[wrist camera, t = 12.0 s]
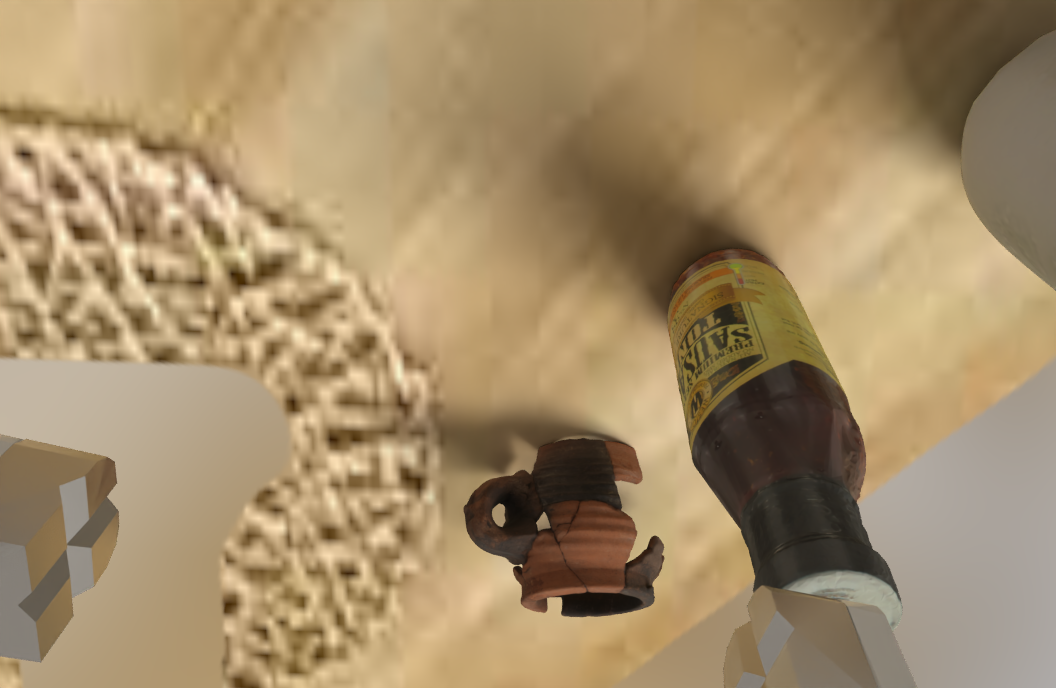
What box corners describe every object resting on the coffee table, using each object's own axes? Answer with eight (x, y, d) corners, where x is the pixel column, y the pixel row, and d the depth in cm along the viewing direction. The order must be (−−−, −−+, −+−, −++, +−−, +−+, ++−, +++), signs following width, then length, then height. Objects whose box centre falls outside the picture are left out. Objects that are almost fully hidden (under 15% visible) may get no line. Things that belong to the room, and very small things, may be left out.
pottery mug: (688, 446, 45) (705, 594, 41) (607, 498, 53) (615, 627, 49) (492, 410, 41) (489, 571, 37) (434, 472, 49) (427, 612, 44)
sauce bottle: (697, 224, 38) (801, 494, 21) (813, 268, 39) (1005, 563, 22) (641, 335, 41) (690, 650, 24) (749, 374, 42) (872, 706, 25)
